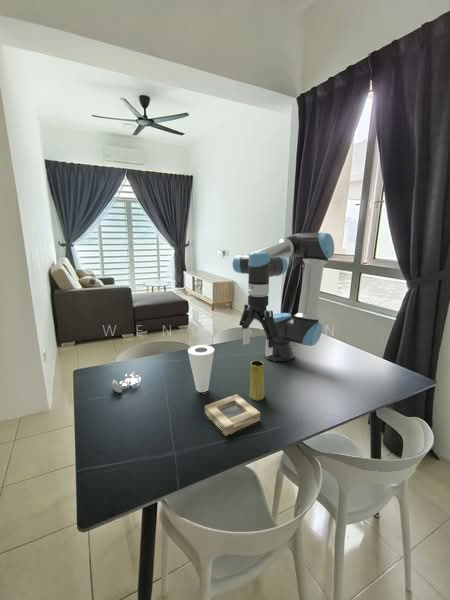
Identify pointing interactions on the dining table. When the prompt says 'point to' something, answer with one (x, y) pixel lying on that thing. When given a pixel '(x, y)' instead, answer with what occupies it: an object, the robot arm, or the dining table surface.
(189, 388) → the dining table surface
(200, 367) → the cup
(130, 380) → the figurine
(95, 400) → the dining table surface
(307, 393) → the dining table surface
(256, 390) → the vase
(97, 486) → the dining table surface
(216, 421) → the square wooden frame
